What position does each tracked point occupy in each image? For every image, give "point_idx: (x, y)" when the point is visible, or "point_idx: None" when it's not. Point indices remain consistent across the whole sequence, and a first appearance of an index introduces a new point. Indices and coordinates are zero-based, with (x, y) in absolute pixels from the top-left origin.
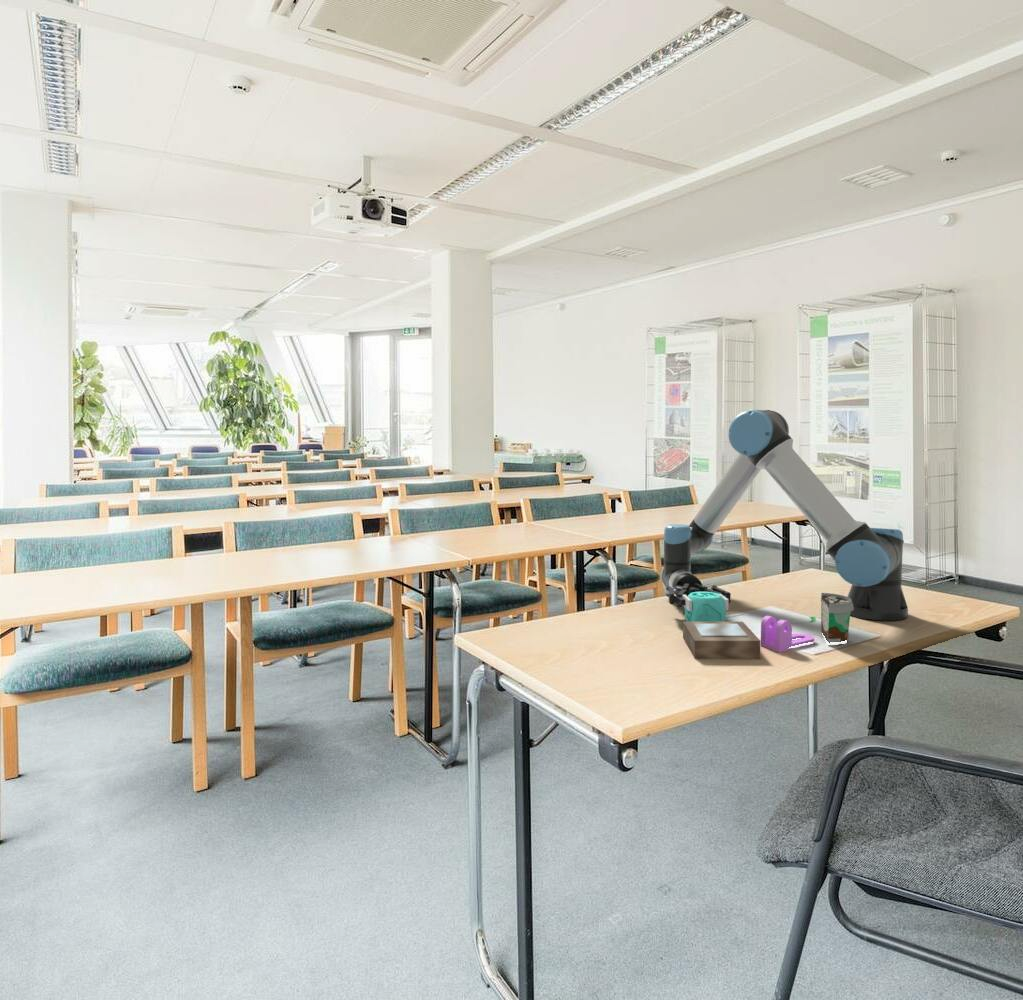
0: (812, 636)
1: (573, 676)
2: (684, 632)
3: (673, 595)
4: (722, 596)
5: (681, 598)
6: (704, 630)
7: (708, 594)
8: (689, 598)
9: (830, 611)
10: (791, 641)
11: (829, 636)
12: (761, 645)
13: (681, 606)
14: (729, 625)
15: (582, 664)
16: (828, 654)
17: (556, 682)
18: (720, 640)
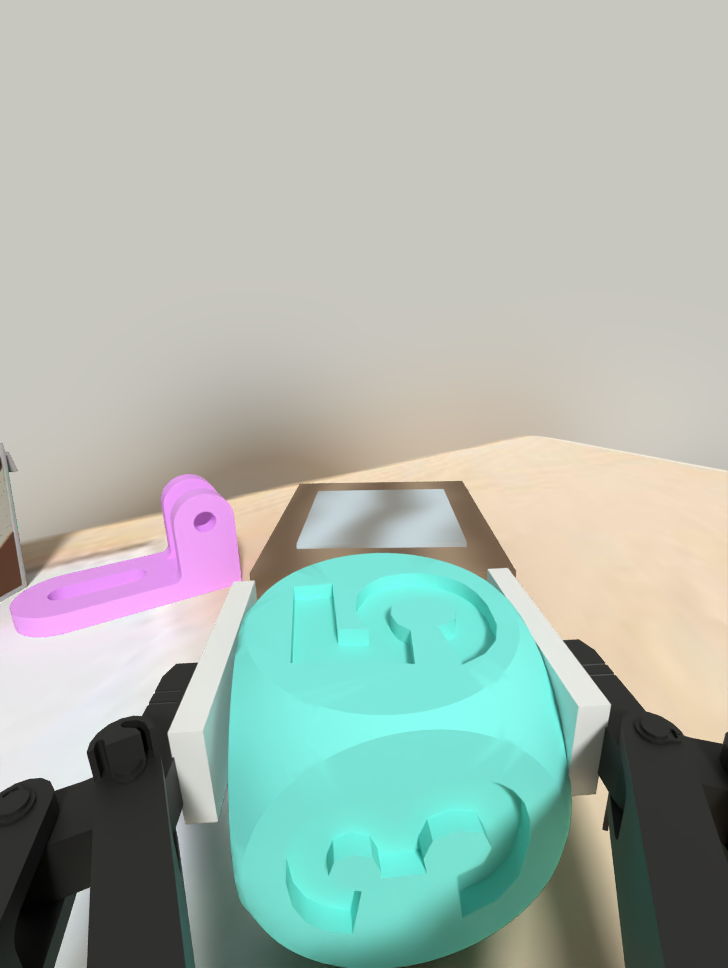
0: (21, 594)
1: (680, 479)
2: None
3: (724, 740)
4: (224, 641)
5: (595, 677)
6: (431, 507)
7: (347, 619)
8: (509, 599)
9: (12, 465)
10: (168, 543)
11: (17, 556)
12: (241, 579)
13: (604, 819)
14: (334, 532)
15: (710, 503)
16: (110, 545)
17: (690, 470)
18: (397, 482)
